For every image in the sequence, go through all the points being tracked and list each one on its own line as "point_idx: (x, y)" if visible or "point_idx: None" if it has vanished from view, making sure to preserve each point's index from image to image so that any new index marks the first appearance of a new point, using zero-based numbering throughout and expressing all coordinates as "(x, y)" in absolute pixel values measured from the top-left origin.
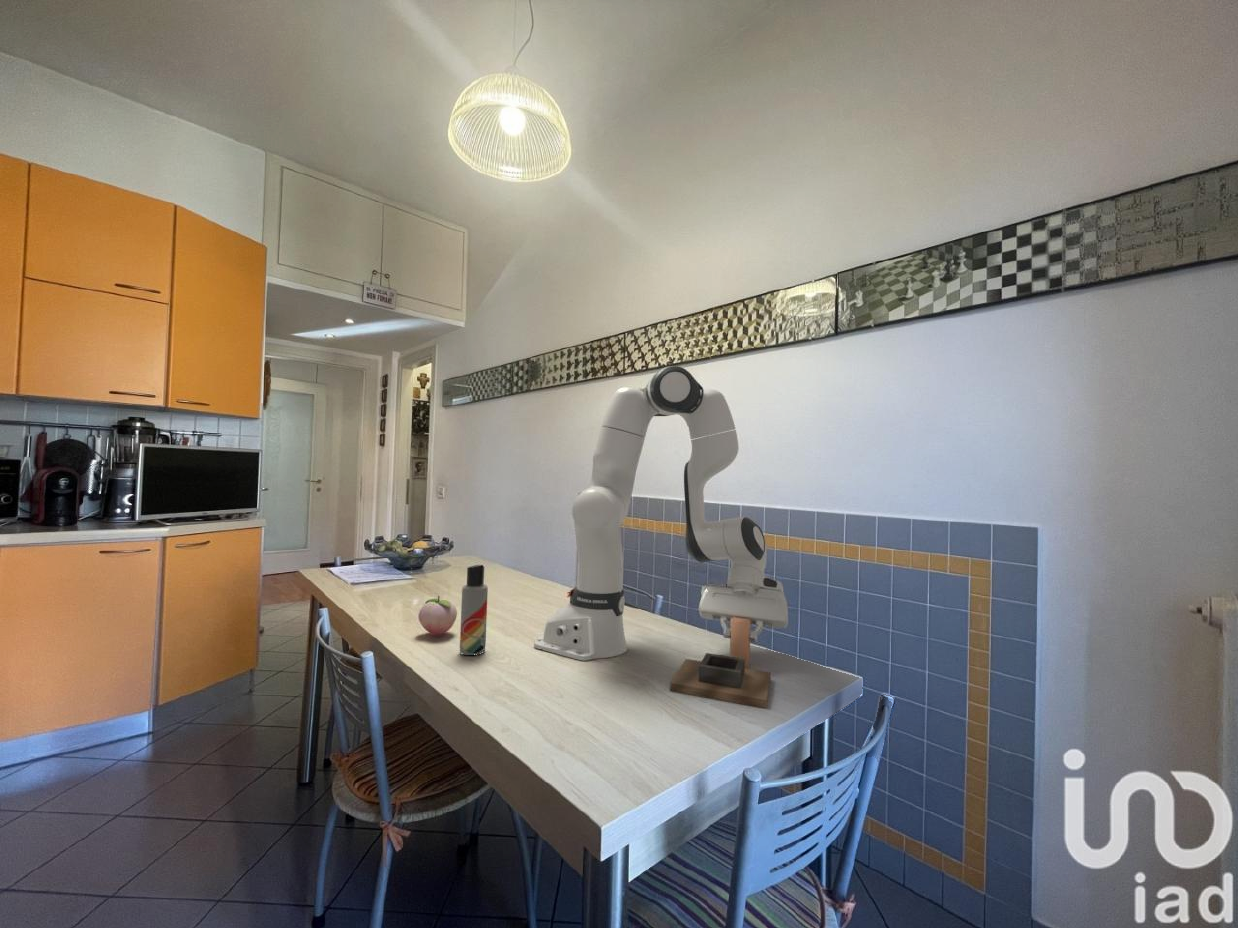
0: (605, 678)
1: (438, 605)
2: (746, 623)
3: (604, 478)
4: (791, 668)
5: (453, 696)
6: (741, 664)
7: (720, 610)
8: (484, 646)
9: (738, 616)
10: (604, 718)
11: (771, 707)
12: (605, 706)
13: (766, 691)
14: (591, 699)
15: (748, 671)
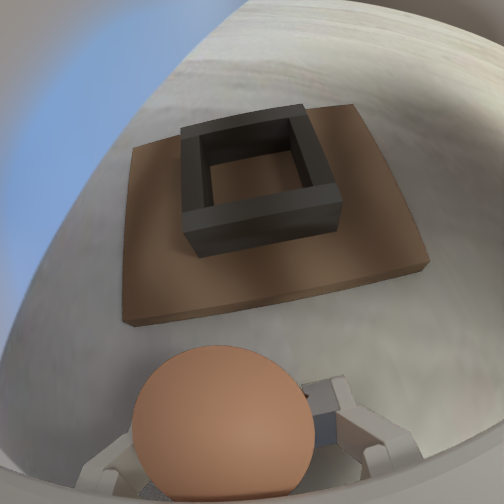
0: (471, 113)
1: None
2: (155, 375)
3: None
4: None
5: (494, 43)
6: (186, 177)
7: (449, 470)
8: None
9: (256, 500)
10: (360, 39)
11: None
12: (386, 53)
13: (131, 183)
14: (416, 60)
15: (190, 285)
